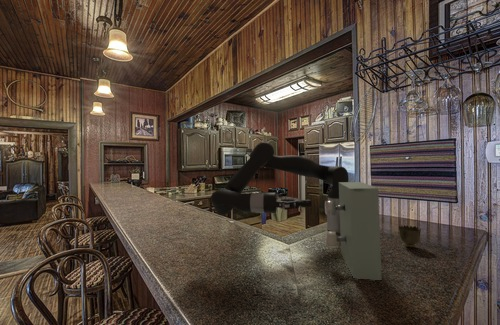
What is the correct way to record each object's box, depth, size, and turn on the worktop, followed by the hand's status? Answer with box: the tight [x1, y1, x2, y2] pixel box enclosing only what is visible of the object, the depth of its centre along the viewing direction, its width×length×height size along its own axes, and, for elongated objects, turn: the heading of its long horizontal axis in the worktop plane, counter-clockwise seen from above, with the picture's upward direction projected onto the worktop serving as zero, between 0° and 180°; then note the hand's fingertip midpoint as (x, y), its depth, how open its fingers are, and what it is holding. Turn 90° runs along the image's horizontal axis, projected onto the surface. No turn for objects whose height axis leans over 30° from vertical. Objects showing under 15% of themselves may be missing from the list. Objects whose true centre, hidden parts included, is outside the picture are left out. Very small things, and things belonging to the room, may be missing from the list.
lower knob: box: [325, 230, 346, 247], centre depth 82 cm, size 7×5×5 cm
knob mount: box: [339, 181, 382, 281], centre depth 80 cm, size 8×20×28 cm, turn 168°
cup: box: [398, 225, 422, 249], centre depth 95 cm, size 8×7×8 cm
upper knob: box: [324, 200, 345, 216], centre depth 82 cm, size 7×5×5 cm
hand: (311, 203), depth 83 cm, fingers closed
